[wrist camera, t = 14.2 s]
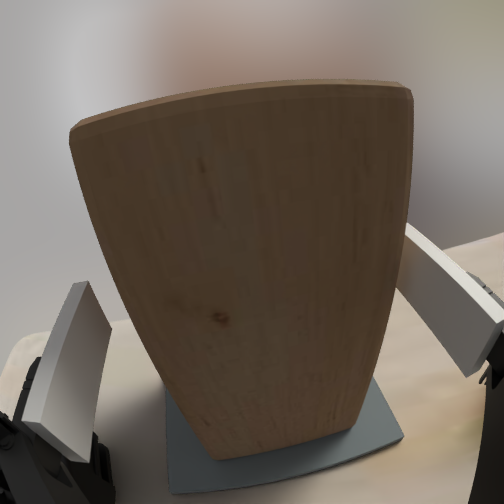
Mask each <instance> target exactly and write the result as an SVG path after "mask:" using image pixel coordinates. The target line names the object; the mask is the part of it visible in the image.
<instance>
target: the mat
mask: <svg viewBox="0 0 504 504" xmlns="http://www.w3.org/2000/svg"><path fill="white" fill-rule="evenodd" d="M403 437H404V434H403V432H402V430H401V428H400V426H399V424H398V422H397V421H396V419H395V417H394V415H393V413H392V411H391V409H390V407H389V405H388V403H387V401H386V400H385V398H384V396H383V394H382V392H381V390H380V388H379V387H378V385H377V383H376V381H375V379H374V377H373V376H372V379H371V382H370V385H369V388H368V391H367V394H366V397H365V400H364V403H363V405H362V408H361V411H360V414H359V416H358V419H357V421H356V424H355V425H354V426H353V427H351V428H349V429H346V430H343V431H340V432H337V433H334V434H331V435H328V436H324V437H321V438H318V439H314V440H311V441H307V442H304V443H300V444H297V445H293V446H289V447H285V448H281V449H276V450H272V451H268V452H263V453H258V454H253V455H248V456H242V457H237V458H231V459H224V460H214V459H212V458H211V456H210V455H209V454H208V452H207V451H206V449H205V448H204V446H203V445H202V444H201V442H200V441H199V439H198V438H197V436H196V435H195V433H194V432H193V430H192V428H191V427H190V425H189V424H188V422H187V421H186V419H185V417H184V416H183V414H182V413H181V411H180V409H179V408H178V406H177V405H176V403H175V401H174V400H173V398H172V396H171V394H170V393H169V391H168V389H167V388H166V439H167V463H168V480H169V492H170V493H171V494H184V493H199V492H210V491H219V490H227V489H235V488H242V487H248V486H254V485H259V484H264V483H270V482H274V481H279V480H283V479H288V478H292V477H296V476H300V475H304V474H308V473H311V472H315V471H318V470H322V469H325V468H328V467H331V466H335V465H338V464H341V463H344V462H347V461H350V460H352V459H355V458H358V457H361V456H363V455H366V454H369V453H371V452H374V451H376V450H379V449H381V448H383V447H386V446H388V445H390V444H393V443H395V442H397V441H399V440H402V439H403Z"/></svg>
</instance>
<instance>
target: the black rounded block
mask: <svg viewBox="0 0 504 504" xmlns="http://www.w3.org/2000/svg"><path fill="white" fill-rule="evenodd" d="M3 414H4V415H5V416H6V417H7V418H8V416H7V415H6V414H5V413H3ZM61 462H62V463H63V464H64V465H65V466H66V468H67V469H68V471H69V472H70V474H71V476H72V477H73V479H74V480H75V482H76V484H77V485H78V487H79V488H80V490H81V491H82V493H83V494H84V495H85V497H86V498H87V500H88V501H89V503H90V504H115V486H113V481H112V474H111V466H110V458H109V451H108V448H107V447H105V446H104V445H103V444H101V443H98V436H97V435H96V434H95V433H94V432H93V434H92V442H91V451H90V460H89V463H86V462H76V461H71V460H69V459H68V458H66V457H65V456H64V455H62V456H61Z"/></svg>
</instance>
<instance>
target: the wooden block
mask: <svg viewBox="0 0 504 504" xmlns="http://www.w3.org/2000/svg"><path fill="white" fill-rule="evenodd" d="M413 129H414V100H413V96H412V93H411V90H410V89H408V88H406V87H405V86H403V85H401V84H400V83H398V82H390V81H375V80H355V79H306V80H283V81H270V82H258V83H248V84H239V85H231V86H223V87H217V88H209V89H203V90H198V91H192V92H186V93H181V94H176V95H171V96H166V97H162V98H157V99H153V100H149V101H145V102H140V103H137V104H132V105H129V106H125V107H121V108H118V109H114V110H111V111H107V112H105V113H101V114H98V115H95V116H91V117H88V118H85V119H82V120H81V121H79V122H78V123H77V124H76V125H75V126H74V127H73V128H71V130H70V135H69V146H70V150H71V153H72V157H73V162H74V165H75V169H76V172H77V176H78V180H79V183H80V187H81V190H82V193H83V197H84V200H85V203H86V206H87V209H88V212H89V215H90V218H91V222H92V224H93V227H94V230H95V233H96V235H97V239H98V241H99V244H100V247H101V249H102V252H103V255H104V257H105V260H106V263H107V265H108V268H109V270H110V272H111V275H112V277H113V280H114V282H115V284H116V287H117V289H118V292H119V294H120V296H121V299H122V301H123V303H124V305H125V308H126V310H127V312H128V313H129V316H130V318H131V320H132V323H133V325H134V327H135V329H136V331H137V333H138V335H139V337H140V339H141V341H142V343H143V345H144V347H145V349H146V351H147V353H148V355H149V357H150V359H151V360H152V362H153V364H154V366H155V368H156V370H157V372H158V373H159V375H160V377H161V379H162V381H163V382H164V384H165V386H166V388H167V389H168V391H169V393H170V394H171V396H172V398H173V400H174V401H175V403H176V405H177V406H178V408H179V409H180V411H181V413H182V414H183V416H184V417H185V419H186V421H187V422H188V424H189V425H190V427H191V428H192V430H193V432H194V433H195V435H196V436H197V438H198V439H199V441H200V442H201V444H202V445H203V446H204V448H205V449H206V451H207V452H208V454H209V455H210V456H211V458H212V459H214V460H224V459H231V458H237V457H242V456H248V455H253V454H258V453H263V452H268V451H272V450H276V449H281V448H285V447H289V446H293V445H297V444H300V443H304V442H307V441H311V440H314V439H318V438H321V437H324V436H328V435H331V434H334V433H337V432H340V431H343V430H346V429H349V428H351V427H353V426H354V425H355V424H356V421H357V419H358V416H359V414H360V411H361V408H362V405H363V403H364V400H365V397H366V394H367V391H368V388H369V385H370V382H371V379H372V376H373V373H374V369H375V366H376V363H377V360H378V356H379V353H380V349H381V346H382V342H383V338H384V335H385V331H386V327H387V323H388V319H389V315H390V311H391V306H392V302H393V297H394V293H395V288H396V283H397V278H398V273H399V268H400V262H401V256H402V250H403V244H404V237H405V230H406V223H407V215H408V206H409V197H410V186H411V173H412V156H413V132H414V130H413Z"/></svg>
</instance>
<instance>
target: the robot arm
mask: <svg viewBox="0 0 504 504" xmlns="http://www.w3.org/2000/svg"><path fill="white" fill-rule="evenodd" d="M396 288H397V289H398V290H399V291H400V292H401V294H402V295H403V296H404V297H405V298H406V300H407V301H408V302H409V303H410V304H411V306H412V307H413V308H414V309H415V311H416V312H417V313H418V314H419V316H420V317H421V318H422V319H423V321H424V322H425V323H426V324H427V326H428V327H429V328H430V330H431V331H432V332H433V334H434V335H435V336H436V337H437V339H438V340H439V341H440V343H441V344H442V345H443V347H444V348H445V349H446V351H447V352H448V353H449V355H450V356H451V358H452V359H453V360H454V362H455V363H456V364H457V366H458V367H459V369H460V370H461V371H462V373H463V374H464V376H465V377H466V378H467V377H469V376H470V375H472V374H474V373H475V372H477V371H479V370H480V368H481V367H482V365H483V364H484V362H485V360H487V361H488V362H489V366H488V367H487V369H486V371H485V372H484V374H483V375H482V377H481V378H480V380H479V384H481V383H482V382H483V380H484V379H485V377H487V379H486V382H485V384H484V385H486V400H485V412H484V422H483V431H482V438H481V445H480V451H479V457H478V463H477V468H476V473H475V477H474V482H473V486H472V490H471V494H470V498H469V501H468V504H504V302H503V301H502V300H501V299H500V298H499V297H498V296H497V295H496V294H495V293H493V291H492V290H491V289H490V288H489V287H486V285H485V284H484V283H483V282H482V281H481V280H480V279H479V278H478V277H476V276H474V275H473V274H471V273H469V272H465V271H464V270H463V269H462V268H460V267H459V266H458V265H457V264H456V263H455V262H454V261H453V260H452V259H450V258H449V257H448V256H447V255H446V254H445V253H444V252H442V251H441V250H440V249H439V248H438V247H437V246H435V245H434V244H433V243H432V242H431V241H429V240H428V239H427V238H426V237H425V236H423V235H422V234H421V233H420V232H418V231H417V230H416V229H415V228H414V227H412V226H411V225H410V224H408V223H406V230H405V237H404V244H403V250H402V256H401V262H400V268H399V273H398V278H397V283H396ZM111 331H112V328H111V326H110V324H109V322H108V320H107V319H106V317H105V315H104V313H103V311H102V309H101V306H100V304H99V303H98V300H97V298H96V296H95V294H94V292H93V290H92V288H91V285H90V283H89V281H85V282H79V283H74V284H73V285H72V287H71V289H70V292H69V294H68V296H67V298H66V300H65V302H64V305H63V307H62V309H61V311H60V313H59V316H58V318H57V321H56V323H55V325H54V327H53V330H52V332H51V335H50V337H49V340H48V342H47V345H46V347H45V350H44V352H43V355H42V357H37V358H36V359H35V361H34V362H33V363H32V365H31V366H30V368H29V370H28V373H27V376H26V381H25V382H24V384H23V387H22V388H23V390H21V393H20V396H19V400H18V403H17V406H16V409H15V413H14V416H13V420H12V422H11V421H10V420H9V419H8V418H7V417H6V416H5V415H4V414H3V413H2V412H1V411H0V504H90V503H89V501H88V500H87V498H86V497H85V495H84V494H83V493H82V491H81V490H80V488H79V487H78V485H77V484H76V482H75V480H74V479H73V477H72V476H71V474H70V472H69V471H68V469H67V468H66V466H65V465H64V464H63V463H62V462H61V456H62V455H64V456H65V457H66V458H68V459H69V460H71V461H76V462H86V463H89V460H90V451H91V442H92V434H93V426H94V419H95V412H96V406H97V400H98V394H99V388H100V383H101V378H102V373H103V368H104V363H105V358H106V353H107V349H108V344H109V340H110V336H111Z"/></svg>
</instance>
